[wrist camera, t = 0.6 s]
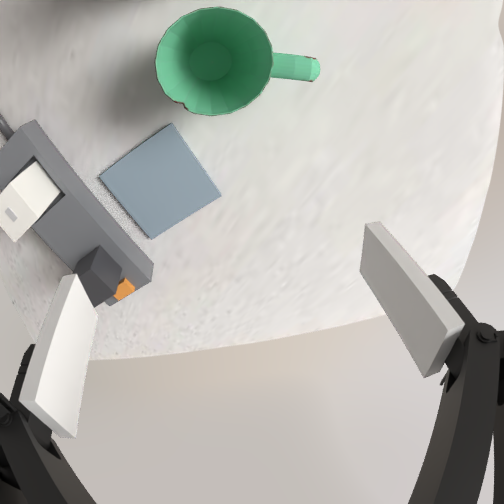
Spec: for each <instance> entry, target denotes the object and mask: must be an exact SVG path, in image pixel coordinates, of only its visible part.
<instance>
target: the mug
mask: <svg viewBox="0 0 504 504" xmlns="http://www.w3.org/2000/svg"><path fill="white" fill-rule="evenodd" d="M155 68H156V75H157V80H158V82H159V83H160V85H161V87H162V89H163V91H164V93H165V94H166V95H167V96H168V97H169V98H170V99H172V100H173V101H174V102H176V103H182V104H183V105H184V108H185V109H186V110H188V111H190V112H192V113H194V114H201V115H208V116H216V115H223V114H230V113H232V112H235V111H237V110H239V109H242V108H244V107H246V106H247V105H249V104H250V103H251V102H252V101H253V100H255V99H256V98H257V97H258V96H259V95H260V94H261V93H262V91H263V90H264V88H265V86H266V85H267V83H268V82H269V80H270V77H273V78H283V79H292V80H301V81H309V82H313V81H314V80H315V79H316V78H317V77H318V76H319V74H320V64H319V62H318V61H317V59H316V58H312V57H307V56H300V55H292V54H283V53H273V49H272V45H271V43H270V41H269V38H268V36H267V34H266V32H265V31H264V29H263V28H262V27H261V26H260V25H259V24H258V23H257V22H256V21H255V20H254V19H253V18H251V17H249V16H247V15H246V14H244V13H242V12H240V11H238V10H235V9H229V8H224V7H210V8H202V9H198V10H195V11H193V12H191V13H188V14H186V15H184V16H182V17H181V18H179V19H178V20H177V21H176V22H175V23H174V24H172V25H171V26H170V27H169V28H168V29H167V30H166V32H165V34H164V35H163V37H162V39H161V41H160V42H159V44H158V48H157V52H156V57H155Z"/></svg>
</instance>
